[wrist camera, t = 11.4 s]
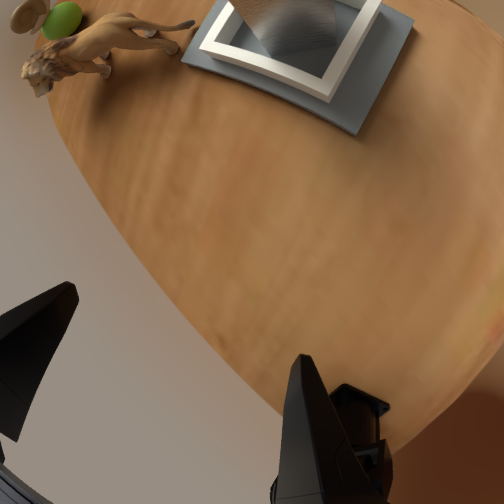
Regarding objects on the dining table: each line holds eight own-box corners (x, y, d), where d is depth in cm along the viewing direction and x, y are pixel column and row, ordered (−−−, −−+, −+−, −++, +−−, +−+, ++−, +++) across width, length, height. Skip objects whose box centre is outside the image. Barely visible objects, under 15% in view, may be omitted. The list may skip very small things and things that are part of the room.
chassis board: (412, 25, 11) (421, 8, 8) (355, 136, 16) (359, 130, 13) (248, -30, 13) (236, -48, 10) (186, 64, 17) (166, 53, 14)
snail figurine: (100, -2, 16) (26, -25, 5) (79, 41, 19) (-2, 28, 8) (77, 5, 17) (11, -11, 6) (59, 45, 19) (-13, 37, 8)
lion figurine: (82, 105, 21) (12, 103, 13) (82, 65, 20) (18, 56, 11) (200, 46, 16) (128, 1, 8) (196, 2, 15) (133, -45, 7)
